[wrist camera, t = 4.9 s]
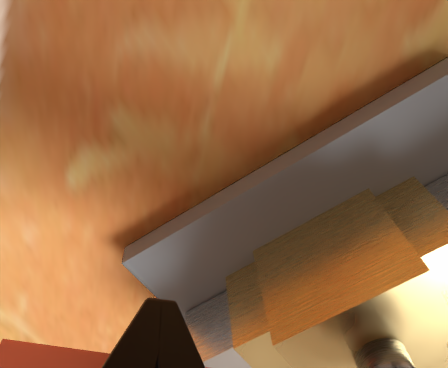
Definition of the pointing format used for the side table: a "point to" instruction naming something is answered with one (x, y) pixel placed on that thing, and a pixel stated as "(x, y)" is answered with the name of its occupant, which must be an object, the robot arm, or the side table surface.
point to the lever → (47, 356)
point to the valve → (340, 290)
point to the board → (298, 190)
